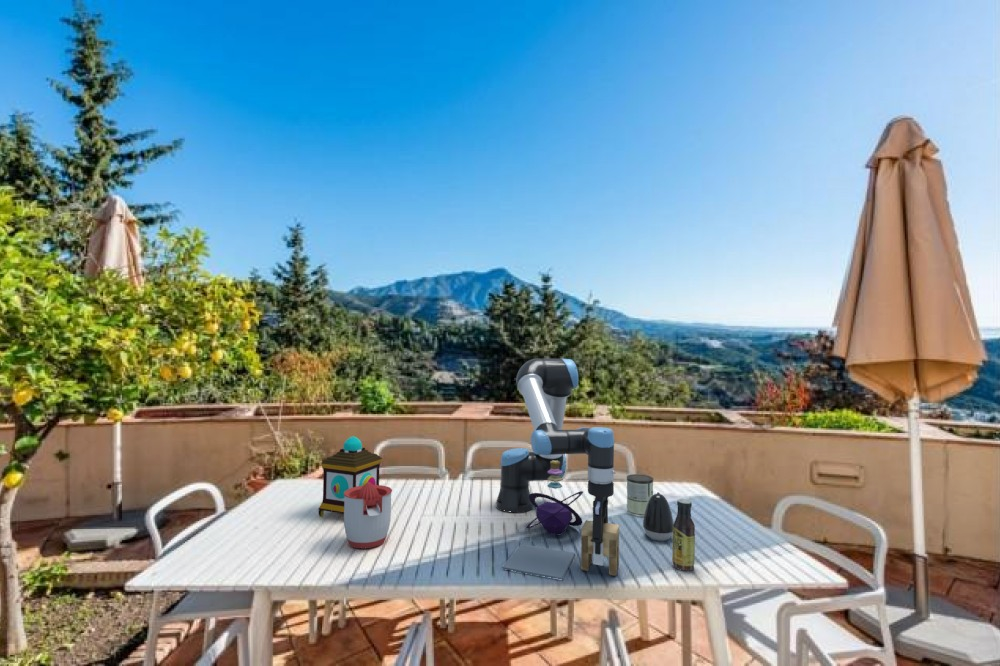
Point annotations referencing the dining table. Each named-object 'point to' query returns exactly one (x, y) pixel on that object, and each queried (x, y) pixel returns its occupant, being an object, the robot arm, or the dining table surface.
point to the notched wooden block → (608, 545)
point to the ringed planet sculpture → (554, 507)
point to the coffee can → (638, 493)
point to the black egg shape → (658, 518)
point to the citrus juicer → (367, 515)
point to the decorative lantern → (347, 474)
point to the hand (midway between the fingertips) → (600, 558)
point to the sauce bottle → (683, 537)
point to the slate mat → (540, 561)
